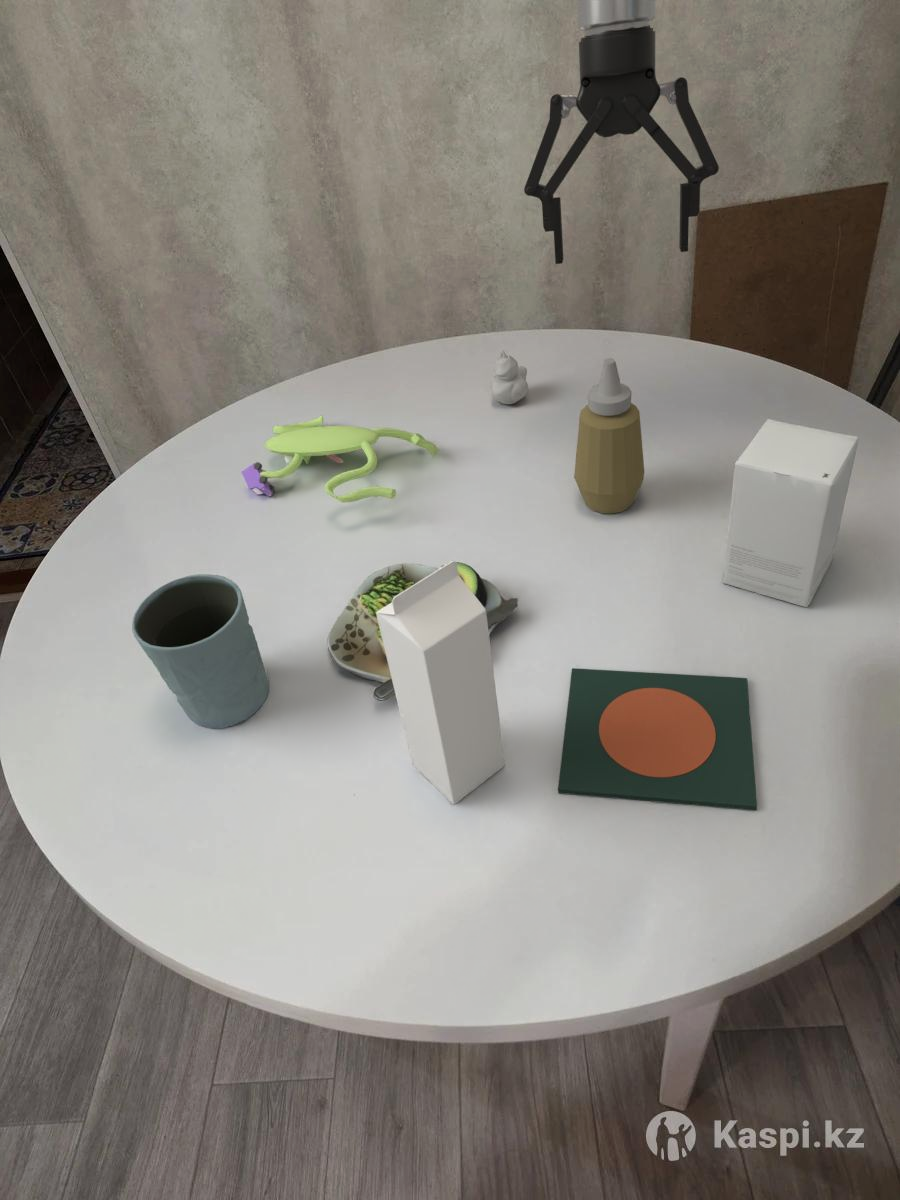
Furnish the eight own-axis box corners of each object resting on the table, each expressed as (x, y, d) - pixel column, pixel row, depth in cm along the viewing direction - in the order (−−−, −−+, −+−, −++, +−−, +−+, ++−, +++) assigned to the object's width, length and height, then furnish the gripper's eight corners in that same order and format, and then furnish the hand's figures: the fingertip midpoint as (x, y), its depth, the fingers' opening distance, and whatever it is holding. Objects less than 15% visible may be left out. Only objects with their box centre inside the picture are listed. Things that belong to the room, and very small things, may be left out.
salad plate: (458, 732, 79) (452, 699, 76) (294, 687, 86) (283, 655, 83) (530, 596, 92) (527, 563, 89) (382, 566, 99) (375, 534, 96)
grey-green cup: (289, 705, 84) (257, 616, 76) (191, 753, 81) (146, 666, 73) (254, 645, 91) (221, 558, 83) (162, 687, 88) (119, 601, 80)
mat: (746, 682, 80) (747, 676, 79) (756, 810, 70) (757, 805, 69) (572, 672, 83) (572, 667, 83) (558, 793, 73) (557, 788, 73)
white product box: (835, 558, 91) (864, 435, 81) (807, 610, 86) (834, 485, 76) (750, 535, 95) (767, 415, 85) (718, 583, 90) (733, 462, 80)
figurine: (380, 539, 103) (371, 501, 99) (216, 491, 115) (203, 455, 111) (458, 458, 114) (453, 420, 110) (301, 421, 126) (292, 387, 122)
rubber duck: (482, 404, 123) (476, 352, 118) (511, 384, 126) (507, 332, 121) (511, 414, 120) (507, 361, 115) (540, 393, 123) (538, 341, 118)
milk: (412, 765, 77) (364, 580, 63) (463, 728, 80) (429, 540, 65) (455, 806, 74) (415, 619, 59) (507, 766, 76) (482, 576, 61)
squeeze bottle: (651, 486, 104) (657, 346, 92) (632, 526, 99) (636, 383, 87) (587, 476, 107) (584, 340, 95) (565, 514, 102) (560, 375, 90)
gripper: (743, 12, 87) (733, 238, 97) (496, 49, 92) (513, 260, 102) (753, 8, 80) (741, 250, 91) (487, 47, 85) (506, 272, 96)
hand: (620, 256), depth 97 cm, fingers open, 13 cm apart
